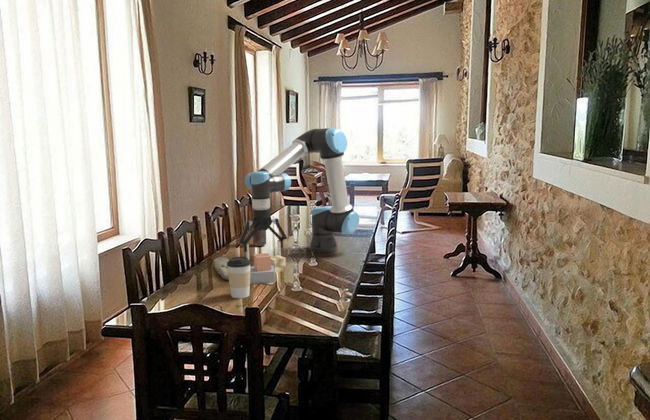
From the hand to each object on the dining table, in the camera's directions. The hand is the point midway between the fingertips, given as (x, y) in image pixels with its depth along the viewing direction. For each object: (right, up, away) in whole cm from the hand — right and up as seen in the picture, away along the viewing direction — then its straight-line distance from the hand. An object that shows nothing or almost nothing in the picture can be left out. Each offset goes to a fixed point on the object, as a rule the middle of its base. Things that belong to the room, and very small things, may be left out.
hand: (264, 257), depth 209 cm
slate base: (-1, -10, 0) cm, 10 cm away
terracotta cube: (0, -5, 0) cm, 5 cm away
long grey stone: (-19, -8, +15) cm, 26 cm away
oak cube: (+4, -7, +14) cm, 16 cm away
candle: (-10, 0, +63) cm, 63 cm away
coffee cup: (-7, -13, -20) cm, 24 cm away
